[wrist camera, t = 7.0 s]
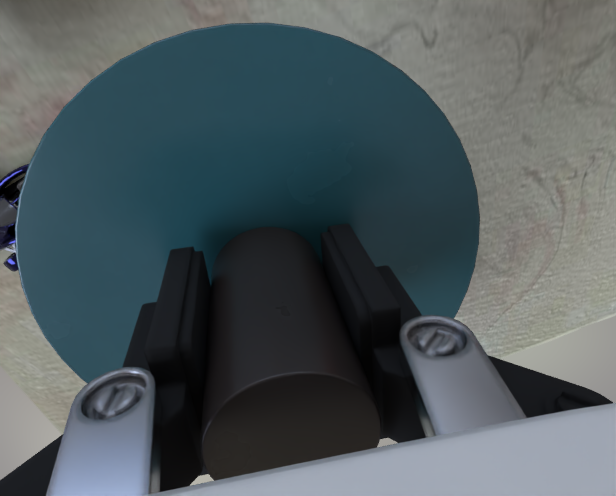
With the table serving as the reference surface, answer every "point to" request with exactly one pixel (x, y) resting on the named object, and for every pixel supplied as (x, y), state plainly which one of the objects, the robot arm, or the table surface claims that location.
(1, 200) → the toy car
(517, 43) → the table surface
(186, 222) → the lid
